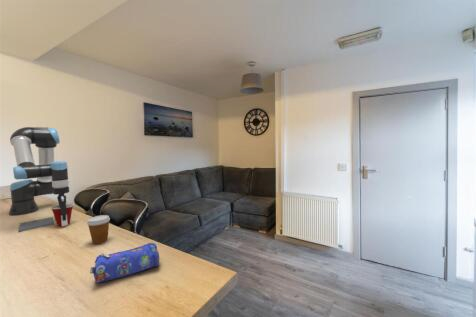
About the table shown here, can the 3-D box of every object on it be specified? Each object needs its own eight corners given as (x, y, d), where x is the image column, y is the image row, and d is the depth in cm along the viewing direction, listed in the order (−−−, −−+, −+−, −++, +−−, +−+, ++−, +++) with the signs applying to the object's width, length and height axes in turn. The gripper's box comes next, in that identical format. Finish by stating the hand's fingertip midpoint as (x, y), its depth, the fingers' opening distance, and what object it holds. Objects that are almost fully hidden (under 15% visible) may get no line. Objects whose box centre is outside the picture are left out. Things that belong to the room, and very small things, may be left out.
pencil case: (91, 290, 69) (88, 262, 68) (94, 276, 76) (92, 250, 76) (161, 269, 79) (159, 245, 78) (158, 259, 87) (157, 236, 86)
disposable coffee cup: (100, 247, 98) (98, 222, 97) (83, 245, 100) (81, 221, 99) (115, 237, 107) (114, 215, 106) (100, 236, 109) (98, 214, 108)
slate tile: (20, 224, 128) (20, 223, 128) (52, 218, 139) (52, 216, 139) (18, 232, 118) (18, 230, 117) (53, 224, 128) (53, 222, 128)
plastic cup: (79, 221, 132) (78, 203, 131) (64, 228, 121) (62, 208, 120) (64, 221, 133) (62, 202, 132) (47, 228, 122) (45, 208, 121)
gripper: (70, 188, 120) (73, 226, 122) (67, 183, 136) (70, 217, 137) (53, 190, 115) (57, 230, 117) (51, 185, 130) (54, 220, 132)
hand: (64, 223), depth 127 cm, fingers closed on plastic cup, 9 cm apart
